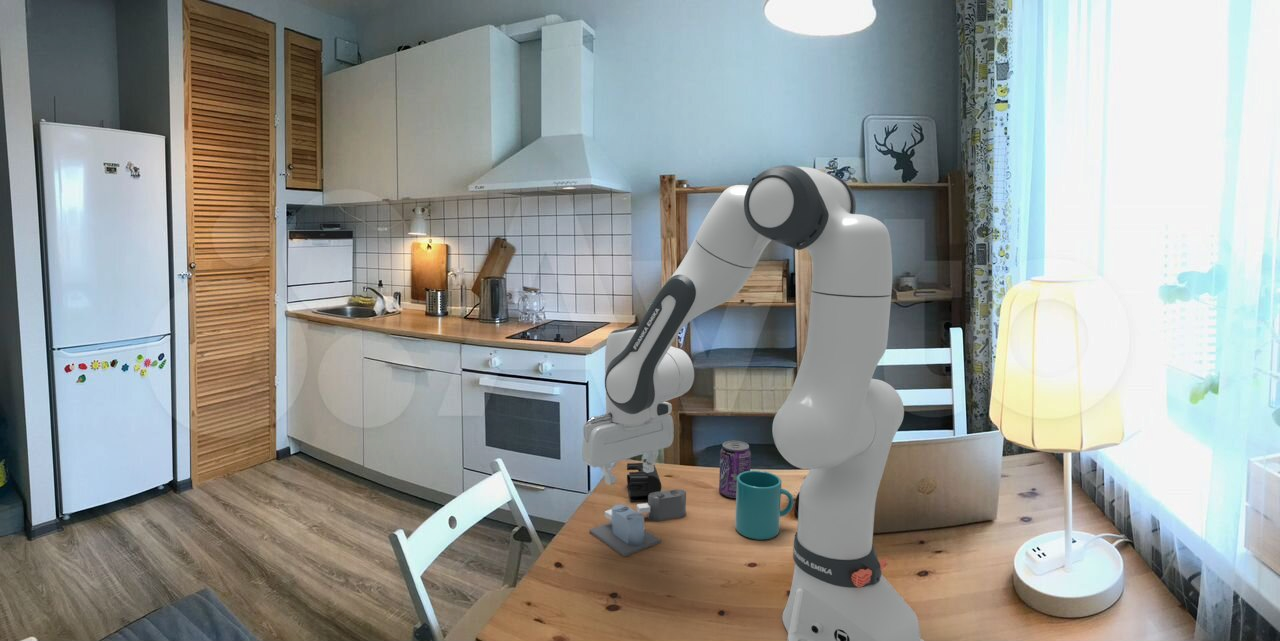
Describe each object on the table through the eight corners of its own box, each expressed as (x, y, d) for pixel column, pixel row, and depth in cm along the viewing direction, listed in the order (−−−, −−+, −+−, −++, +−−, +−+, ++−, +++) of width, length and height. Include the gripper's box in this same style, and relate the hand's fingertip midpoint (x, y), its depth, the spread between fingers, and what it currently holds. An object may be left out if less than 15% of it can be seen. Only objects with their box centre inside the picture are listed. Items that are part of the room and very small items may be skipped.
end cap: (661, 502, 140) (661, 474, 139) (630, 503, 140) (630, 475, 139) (655, 484, 150) (656, 458, 149) (626, 485, 149) (626, 459, 148)
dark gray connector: (682, 509, 137) (682, 488, 136) (688, 516, 133) (688, 494, 133) (635, 516, 133) (635, 494, 133) (640, 523, 130) (640, 501, 129)
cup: (799, 539, 124) (802, 486, 122) (741, 542, 123) (743, 488, 121) (784, 518, 133) (786, 469, 131) (730, 521, 132) (731, 471, 130)
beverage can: (719, 486, 149) (720, 439, 147) (748, 488, 148) (750, 440, 146) (718, 499, 142) (720, 449, 140) (749, 501, 141) (751, 451, 139)
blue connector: (647, 542, 121) (647, 518, 120) (633, 547, 119) (633, 523, 118) (615, 521, 130) (615, 499, 129) (601, 526, 127) (601, 503, 127)
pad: (660, 542, 122) (660, 539, 122) (624, 556, 117) (624, 553, 117) (624, 519, 132) (624, 517, 132) (589, 532, 126) (589, 529, 126)
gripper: (593, 422, 111) (594, 496, 112) (678, 403, 123) (678, 469, 125) (574, 415, 115) (576, 486, 117) (658, 397, 128) (658, 461, 130)
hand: (629, 477), depth 121 cm, fingers open, 8 cm apart
